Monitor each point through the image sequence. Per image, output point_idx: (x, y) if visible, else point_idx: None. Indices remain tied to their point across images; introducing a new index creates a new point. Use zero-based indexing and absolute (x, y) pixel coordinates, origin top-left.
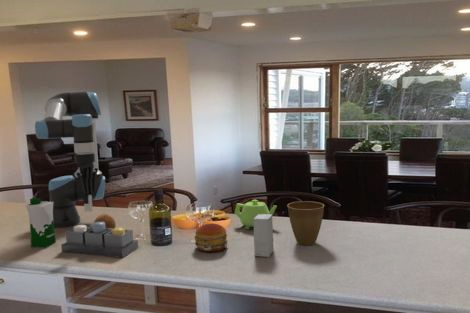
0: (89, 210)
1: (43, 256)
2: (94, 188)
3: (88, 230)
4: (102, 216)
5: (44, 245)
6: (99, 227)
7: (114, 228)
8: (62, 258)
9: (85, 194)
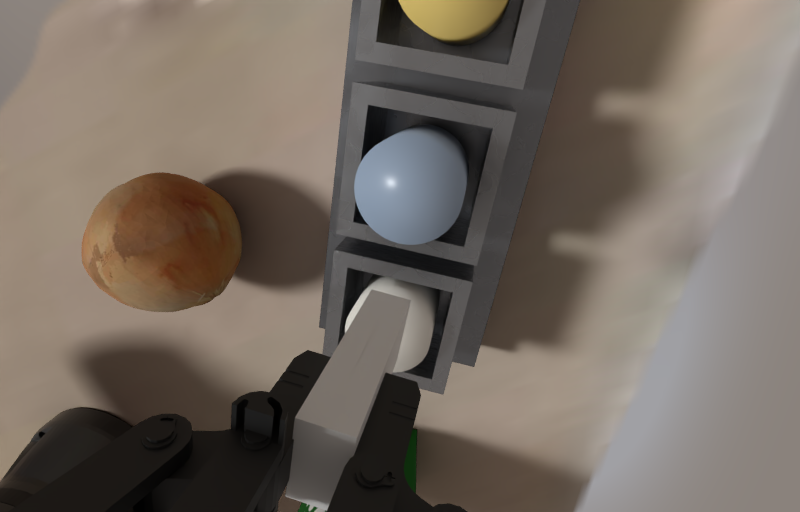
0: (405, 315)
1: (536, 400)
2: (126, 470)
3: (402, 264)
4: (145, 267)
5: (416, 442)
6: (457, 161)
7: (428, 24)
8: (573, 307)
9: (441, 509)
